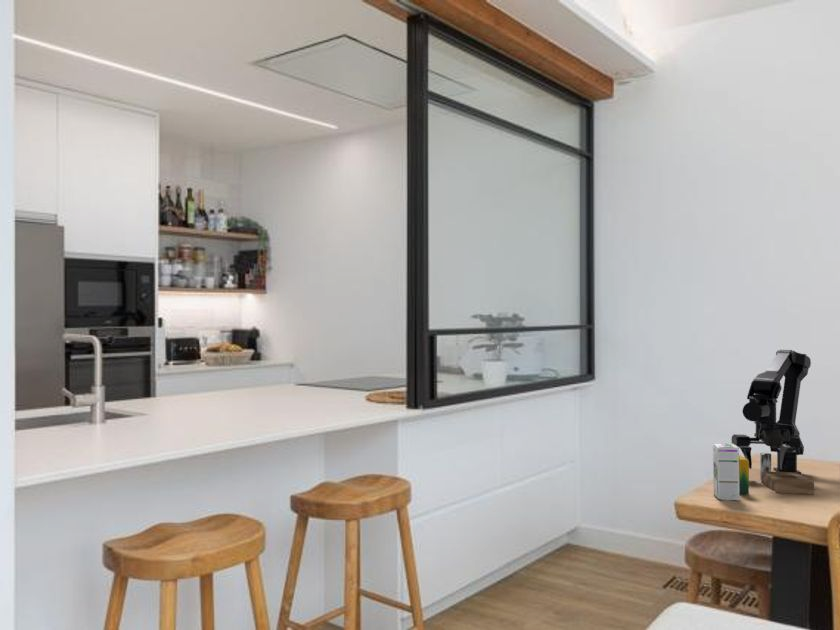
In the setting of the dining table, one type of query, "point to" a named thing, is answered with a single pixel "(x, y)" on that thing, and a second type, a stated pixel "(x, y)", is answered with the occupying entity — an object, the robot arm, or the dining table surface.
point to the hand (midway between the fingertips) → (765, 469)
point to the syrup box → (726, 471)
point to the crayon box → (743, 475)
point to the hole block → (787, 482)
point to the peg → (765, 462)
